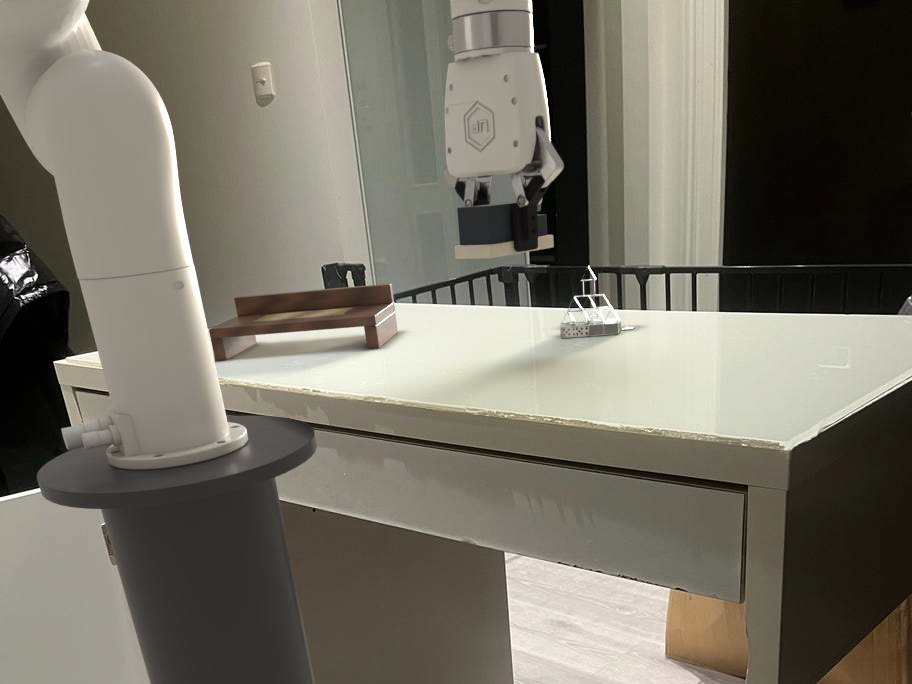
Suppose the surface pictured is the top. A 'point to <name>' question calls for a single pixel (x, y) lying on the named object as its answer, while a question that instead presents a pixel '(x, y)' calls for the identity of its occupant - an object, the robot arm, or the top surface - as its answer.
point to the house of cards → (591, 326)
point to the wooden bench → (307, 316)
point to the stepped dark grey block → (492, 231)
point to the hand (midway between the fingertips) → (505, 248)
